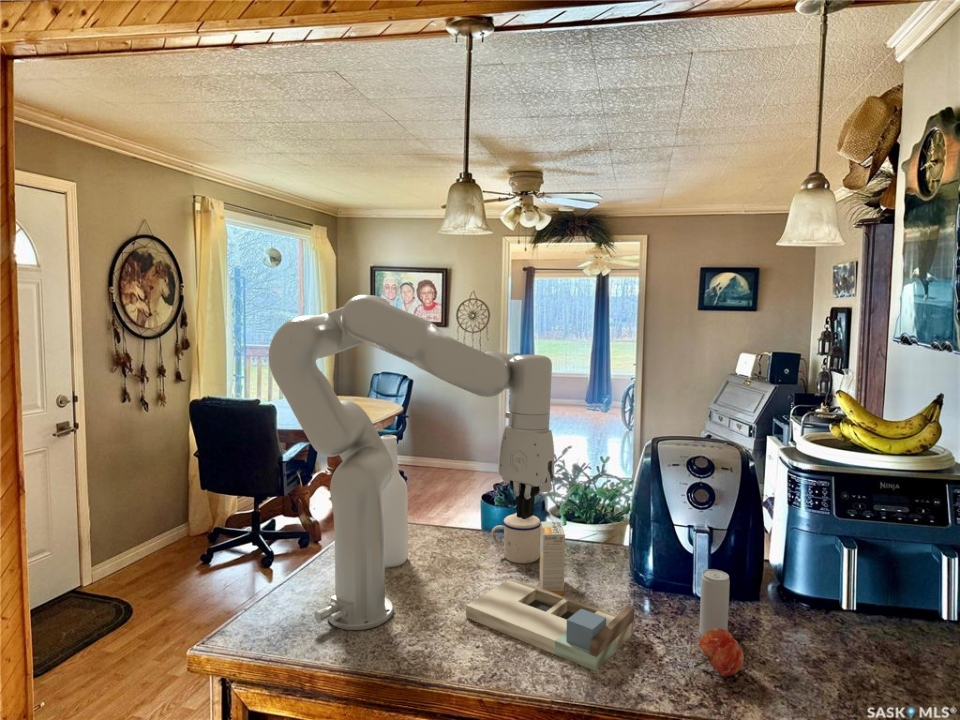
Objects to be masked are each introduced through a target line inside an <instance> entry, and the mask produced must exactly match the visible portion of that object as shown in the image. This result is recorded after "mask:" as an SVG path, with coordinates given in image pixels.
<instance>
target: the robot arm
mask: <svg viewBox="0 0 960 720" xmlns="http://www.w3.org/2000/svg"><path fill="white" fill-rule="evenodd" d="M363 344H367V345H369V346H372V347H374V348H376V349H379V350H381V351H383V352H386V353H387V354H390V355H392V356H395V357H397V358H399V359H401V360H404V361H406V362H409V363H410V364H412V365H414V366H415V367H417V368H418V369H421V370H422V371H425V372H427V373H429V374H431V375H432V376H433V377H436V378H438V379H440V380H442V381H443V382H446V383H447V384H449V385H452V386H455V387H457V388H460V389H462V390H464V391H467V392H469V393H470V394H473V395H476V396H479V397H484V398H491V397H492V398H493V397H496V396H498V395H500V394H501V393H502V392H503V391H505V390H509V408H508V409H509V410H507V411H506V412H505V414H504V416H505V418H506V419H508V424H507V425H505V426H504V430H503V433H502V436H501V437H502V438H501V443H500V448H499V449H500V450H499V456H498V474H499V476H500V477H501V479H502V481H503V482H505V483H507V484H509V485H510V486H511V488H512V489H513V493H514V496H515V497H516V513H517V517H518V518H522V519H526V518H529V517H531V516H534V512H535V503H536V501H535V500H536V497H537V496H538V495H539V493H548V492H551V491H553V486H552V482H553V480H554V477H555V444H554V436H553V432H552V429H550V416H551V413H550V412H551V395H552V394H551V392H552V391H551V390H552V375H553V372H552V370H553V363H552V359H551V358H549V357H548V356H545V355H541V354H518V355H517V354H511V353H504V352H498V351H493V350H492V351H491V350H490V351H485V352H483V351H481V350H479V349H477V348H474V347H472V346H470V345H467V344H466V343H463V342H461V341H459V340H457V339H454V338H453V337H451V336H449V335H447V334H446V333H445V332H443V331H442V330H441V329H440V328H439V327H438V326H437V325H436V324H434V323H433V322H431V321H430V320H428V319H425V318H423V317H420V316H419V315H416V314H412V313H411V312H408V311H406V310H403V309H401V308H399V307H396V306H395V305H393V304H391V303H390V302H389V301H388V300H386V299H385V298H383V297H381V296H378V295H370V294H359V295H356V296H353V297H352V298H350V299H349V300H348V301H347V302H345V304H344V305H343V306H341V307H339V308H337V309H333V310H331V311H328V312H325V313H322V314H319V315H318V314H316V315H301V316H296V317H293V318H290V319H289V320H287V321H285V323H283V324H282V325H281V326H280V327H279V328H278V329H277V330H276V332H275V333H274V336H273V337H272V339H271V342H270V345H269V349H268V366H269V368H270V372H271V375H272V376H273V379H274V381H275V382H276V385H277V386H278V388H279V389H280V391H281V393H282V394H283V396H284V398H285V399H286V401H287V403H288V405H289V407H290V408H291V411H292V413H293V414H294V416H295V418H296V420H297V422H298V423H299V425H300V427H301V429H302V431H303V433H304V434H305V435H306V436H305V437H306V438H307V439H308V441H309V443H310V445H311V446H312V448H313V449H314V450H315V451H316V452H317V453H318V454H319V455H322V456H323V457H329V458H330V457H338V456H339V457H340V460H341V461H342V462H340V464H339V465H338V466H337V468H336V469H335V470H334V472H333V474H332V477H331V480H330V484H329V486H330V487H329V489H330V490H329V494H330V499H331V501H330V502H331V506H332V514H333V535H334V536H333V538H334V581H335V582H334V583H335V585H334V587H335V591H334V592H335V595H333V596H332V595H331V597H330V603H328V605H327V606H326V607H324V608H321V609H319V610H317V611H315V612H314V619H315V620H316V622H317V623H321V622H322V621H324V620H326V619H327V620H328V622H329V623H330V624H331V625H333V626H334V627H337V628H338V629H342V630H347V631H363V630H368V629H372V628H375V627H378V626H380V625H382V624H384V623H386V622H387V621H388V620H389V619H390V618H391V617H392V616H393V613H394V605H393V603H392V601H391V600H390V599H389V598H387V597H386V587H385V586H386V584H385V583H386V579H385V578H386V577H385V575H386V573H385V572H386V570H385V568H386V567H385V553H384V515H383V508H382V491H383V490H384V488H385V487H386V486H387V484H388V483H389V481H390V480H391V478H392V475H393V461H392V458H391V456H390V454H389V452H388V450H387V448H386V446H385V445H384V443H383V441H382V439H381V436H380V434H379V432H378V431H377V429H376V427H375V425H374V423H373V422H372V420H371V418H370V417H369V415H368V413H367V412H366V411H365V410H364V409H363V407H361V406H360V405H359V404H357V403H355V402H354V401H350V400H346V399H345V400H340V399H339V398H338V395H337V394H336V393H335V390H334V389H333V387H332V384H331V383H330V380H329V379H328V377H326V375H325V374H324V373H323V372H322V371H321V370H320V368H319V367H318V365H317V360H319V359H322V358H323V359H324V358H326V357H329V356H333V355H335V354H338V353H340V352H344V351H347V350H350V349H352V348H355V347H358V346H360V345H363Z"/></svg>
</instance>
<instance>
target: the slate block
mask: <svg viewBox="0 0 960 720" xmlns="http://www.w3.org/2000/svg"><path fill="white" fill-rule="evenodd" d="M604 627H606V617H603V616H600V615H597V614H595V613H592V612H589V611H586V610H583V609H580V610H579V611H577V612H576V613H575V614H574V615H572V616H571V617H570V618H568V619H567V635H566V642H568V643H571V644H573V645H576V646H578V647H581V648H583V649H585V650H588V651H590V640H591V639H592V638H593V637H595V636H596V635H597V634H598V633H599V632H600V631H601V630H602V629H603V628H604Z"/></svg>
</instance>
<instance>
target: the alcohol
mask: <svg viewBox="0 0 960 720" xmlns="http://www.w3.org/2000/svg"><path fill="white" fill-rule="evenodd" d="M380 437H381V439H382V441H383V443H384V445H385V446H386V448H387V450H388V452H389V454H390V456H391V458H392V461H393V475H392V478H391V480H390V481H389V483H388V484H387V486H386V487H385V488H384V490H383V491H382V508H383V515H384V553H385V568H395V567H398V566H401V565H403V564H404V563H406V561H407V559H408V557H409V544H408V543H409V536H408V535H409V534H408V533H409V529H408V528H409V525H408V523H409V521H408V520H409V519H408V518H409V517H408V516H409V515H408V514H409V511H408V509H409V507H408V500H409V497H408V496H409V495H408V494H409V493H408V490H409V489H408V485H407V482H406V480H405V478H403V476H402V475H401V474H400V471H399V459H398V448H397V446H398V445H397V444H398V441H397V439H398V437H397V436H396V435H393V434H385V435H384V434H383V435H382V436H380Z"/></svg>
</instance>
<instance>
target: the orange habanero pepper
mask: <svg viewBox="0 0 960 720" xmlns="http://www.w3.org/2000/svg"><path fill="white" fill-rule="evenodd" d="M699 639H700V640H699V642H698V643H699V644H698V646H699V648H700V650H701V651H702V652H703V654H704V655H705V656H706V658H705V659H704V660H702V661H701V662H698V663H697V664H695V665H693V668H697V667H698V666H699V667H700V666H701V665H703V664H705V663H707V662H708V661H709V665H710V666H711V667H712V668H713V669H714V670H715V671H716V672H717V673H718V675H719V676H721V677H724V678H725V677H731V676H733V675H736V674H737V673H738V672H739V671H740V670H741V668H742V667H743V665H744V659H745V653H744V651H743V648H742V647H741V643H742V642H743V641H745V640H747V637H746V636H744V635H742V636H740V637H736V636H733V634H732V633H730V632H729V630H727V631H726V630H724V629H720V628H715V629H711V630H709V631H707V632H706V633H705V634H704V635H703V636H701V638H699Z"/></svg>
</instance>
